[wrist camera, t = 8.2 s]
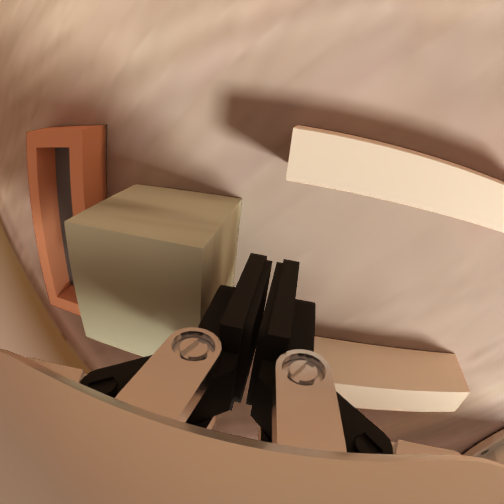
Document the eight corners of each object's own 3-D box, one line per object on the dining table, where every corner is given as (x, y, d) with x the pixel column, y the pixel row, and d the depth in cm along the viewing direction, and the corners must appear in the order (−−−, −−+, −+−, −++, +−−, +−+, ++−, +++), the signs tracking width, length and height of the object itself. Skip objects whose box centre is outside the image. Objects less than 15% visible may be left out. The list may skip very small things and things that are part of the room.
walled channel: (442, 373, 15) (454, 411, 12) (260, 349, 16) (250, 391, 13) (523, 190, 10) (561, 211, 7) (297, 124, 11) (293, 127, 8)
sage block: (231, 299, 15) (199, 373, 11) (139, 278, 16) (86, 336, 11) (242, 198, 13) (202, 248, 8) (135, 184, 13) (64, 221, 9)
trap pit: (117, 305, 17) (101, 323, 15) (67, 289, 17) (50, 304, 16) (106, 125, 12) (82, 129, 11) (50, 127, 13) (26, 132, 11)
